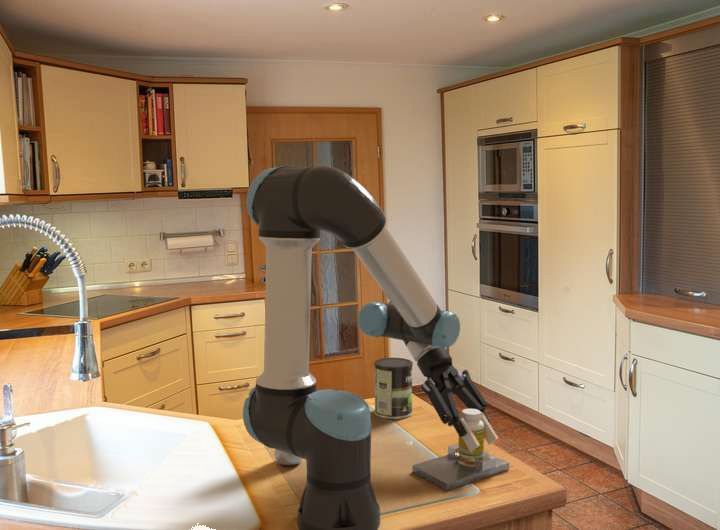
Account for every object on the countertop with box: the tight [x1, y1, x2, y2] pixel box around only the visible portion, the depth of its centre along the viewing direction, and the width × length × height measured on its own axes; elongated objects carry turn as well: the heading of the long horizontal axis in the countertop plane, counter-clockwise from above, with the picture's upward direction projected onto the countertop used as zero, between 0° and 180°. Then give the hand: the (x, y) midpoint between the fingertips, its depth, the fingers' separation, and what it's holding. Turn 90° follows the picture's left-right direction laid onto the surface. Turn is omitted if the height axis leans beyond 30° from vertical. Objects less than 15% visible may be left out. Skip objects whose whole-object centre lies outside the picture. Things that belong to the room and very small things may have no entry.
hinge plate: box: [411, 442, 510, 491], centre depth 147 cm, size 18×11×4 cm, turn 125°
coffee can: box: [373, 357, 413, 420], centre depth 184 cm, size 10×10×14 cm
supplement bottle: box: [458, 408, 485, 459], centre depth 148 cm, size 5×5×10 cm
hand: (484, 444), depth 146 cm, fingers closed on supplement bottle, 5 cm apart
